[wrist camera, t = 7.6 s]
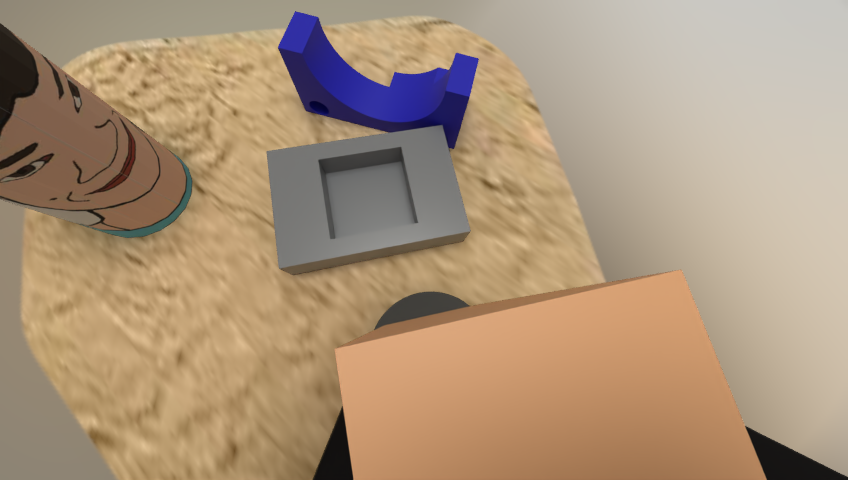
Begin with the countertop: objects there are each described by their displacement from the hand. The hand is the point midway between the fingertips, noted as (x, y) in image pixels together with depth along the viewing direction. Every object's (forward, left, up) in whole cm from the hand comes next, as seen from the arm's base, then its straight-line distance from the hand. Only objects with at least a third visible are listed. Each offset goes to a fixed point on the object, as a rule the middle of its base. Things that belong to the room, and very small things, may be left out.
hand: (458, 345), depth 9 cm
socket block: (+10, +2, -12) cm, 16 cm away
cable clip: (+18, -1, -13) cm, 22 cm away
